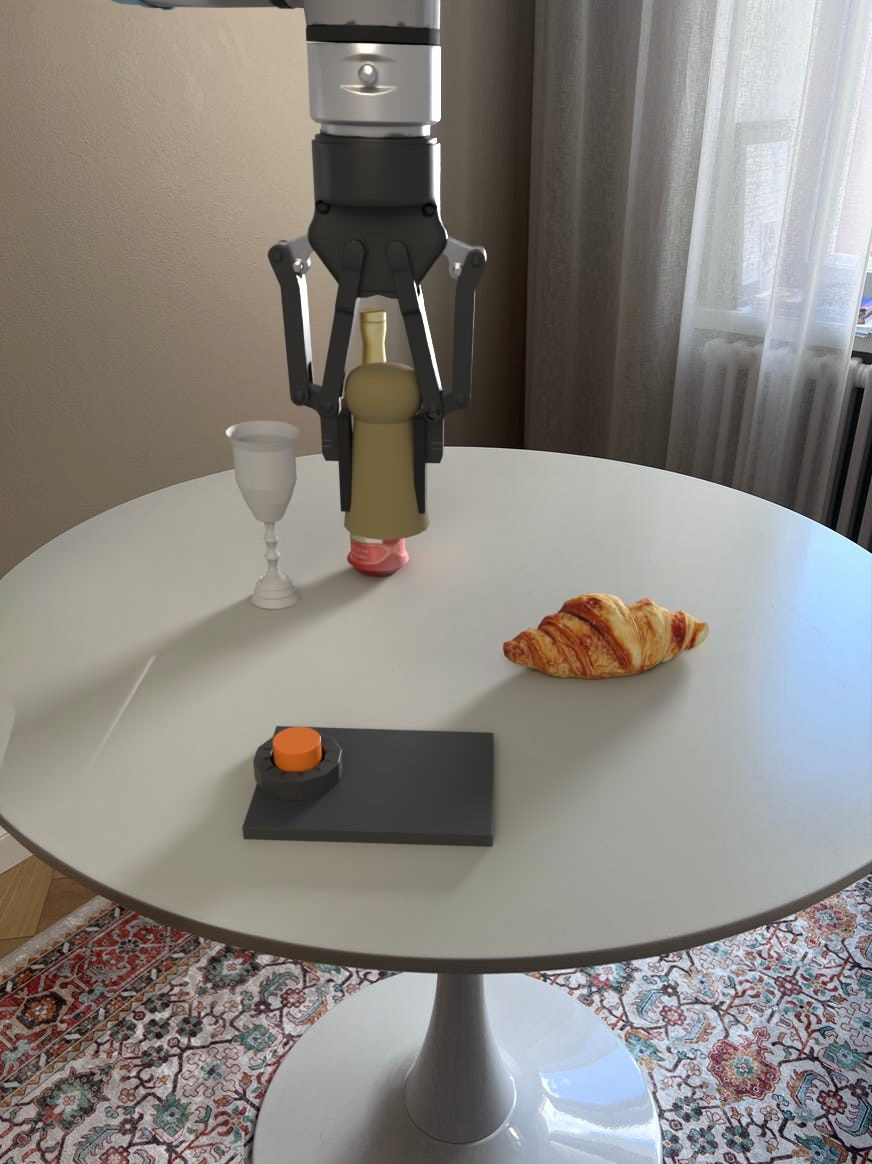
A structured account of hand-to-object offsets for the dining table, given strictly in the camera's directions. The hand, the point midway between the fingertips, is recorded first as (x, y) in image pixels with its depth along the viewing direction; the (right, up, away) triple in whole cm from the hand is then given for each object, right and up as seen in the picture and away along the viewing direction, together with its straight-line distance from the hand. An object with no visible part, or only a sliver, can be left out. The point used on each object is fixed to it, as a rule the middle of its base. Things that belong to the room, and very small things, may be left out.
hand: (384, 504), depth 71 cm
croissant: (+19, -12, +27) cm, 35 cm away
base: (-1, -21, +9) cm, 23 cm away
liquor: (-5, -2, +44) cm, 44 cm away
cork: (0, -1, +1) cm, 2 cm away
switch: (-7, -18, +7) cm, 21 cm away
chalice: (-15, -5, +37) cm, 40 cm away
